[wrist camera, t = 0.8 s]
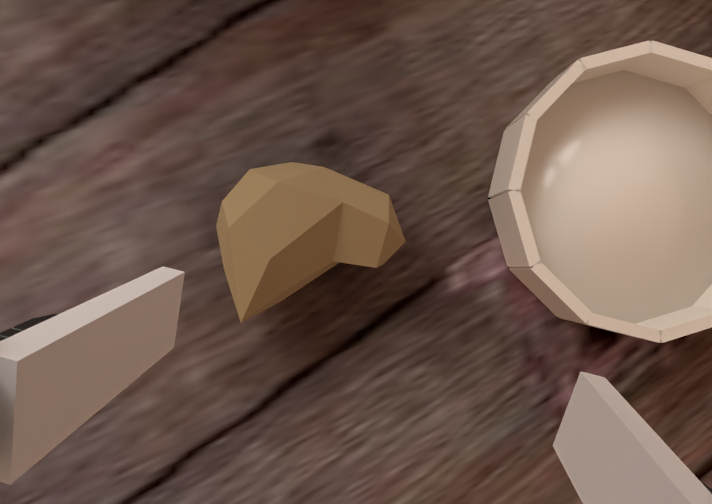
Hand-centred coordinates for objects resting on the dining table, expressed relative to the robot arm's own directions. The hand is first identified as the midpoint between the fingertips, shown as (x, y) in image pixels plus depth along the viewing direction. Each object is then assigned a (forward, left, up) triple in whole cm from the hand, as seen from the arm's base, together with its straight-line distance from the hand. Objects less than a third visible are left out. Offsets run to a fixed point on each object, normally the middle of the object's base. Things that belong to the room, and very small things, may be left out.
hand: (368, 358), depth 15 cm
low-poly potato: (-6, -1, -25) cm, 25 cm away
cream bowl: (-2, +27, -24) cm, 36 cm away
